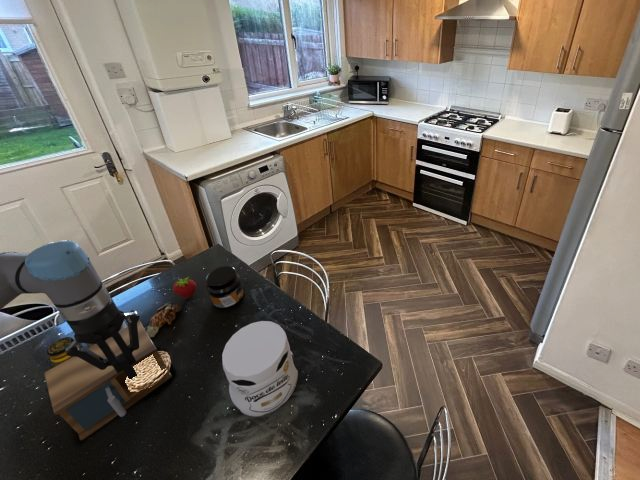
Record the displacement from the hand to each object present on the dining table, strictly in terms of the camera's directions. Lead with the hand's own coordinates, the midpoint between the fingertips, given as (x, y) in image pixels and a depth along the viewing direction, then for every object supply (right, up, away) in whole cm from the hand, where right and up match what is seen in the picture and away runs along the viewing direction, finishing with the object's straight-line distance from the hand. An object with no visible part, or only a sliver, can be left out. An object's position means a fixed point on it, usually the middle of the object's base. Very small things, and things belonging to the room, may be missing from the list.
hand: (131, 373), depth 76 cm
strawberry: (-9, +6, +37) cm, 39 cm away
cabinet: (-11, -9, +10) cm, 17 cm away
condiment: (-27, -7, +14) cm, 31 cm away
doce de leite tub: (+30, -10, +10) cm, 33 cm away
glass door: (-6, -13, +2) cm, 14 cm away
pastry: (-13, +1, +28) cm, 31 cm away
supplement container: (+6, +5, +37) cm, 37 cm away
